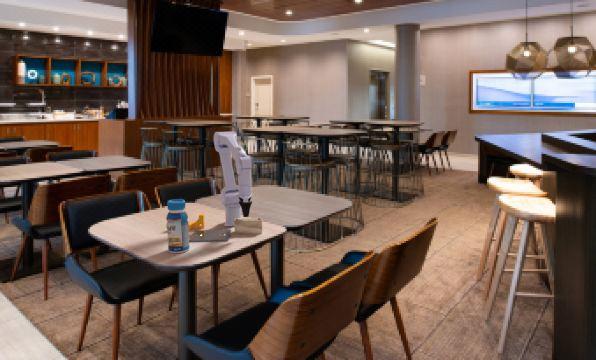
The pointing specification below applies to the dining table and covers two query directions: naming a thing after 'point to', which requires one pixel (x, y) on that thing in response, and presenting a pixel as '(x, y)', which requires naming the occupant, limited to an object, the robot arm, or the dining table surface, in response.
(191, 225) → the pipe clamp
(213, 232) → the bolt plate
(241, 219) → the spacer bar
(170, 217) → the beverage bottle
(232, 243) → the dining table surface
